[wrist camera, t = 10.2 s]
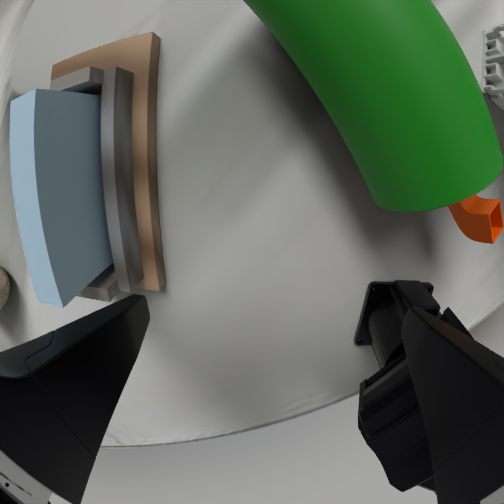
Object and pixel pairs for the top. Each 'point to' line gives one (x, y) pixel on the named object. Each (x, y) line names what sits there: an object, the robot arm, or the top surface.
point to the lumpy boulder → (4, 287)
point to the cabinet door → (59, 190)
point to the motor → (398, 102)
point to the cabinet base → (124, 157)
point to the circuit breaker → (493, 65)
